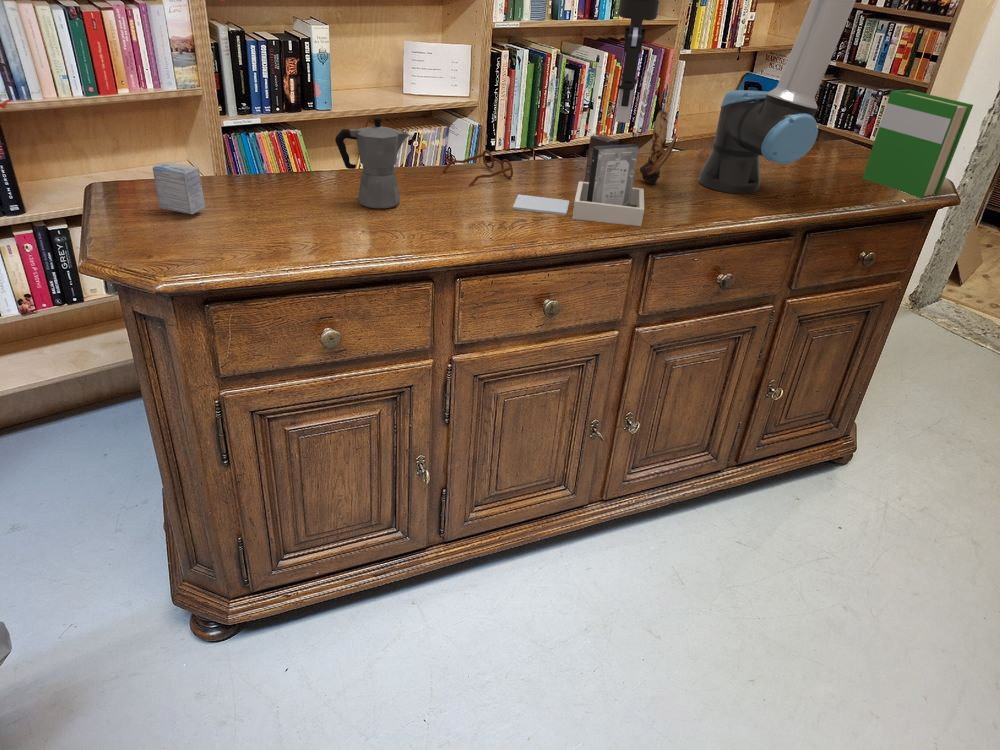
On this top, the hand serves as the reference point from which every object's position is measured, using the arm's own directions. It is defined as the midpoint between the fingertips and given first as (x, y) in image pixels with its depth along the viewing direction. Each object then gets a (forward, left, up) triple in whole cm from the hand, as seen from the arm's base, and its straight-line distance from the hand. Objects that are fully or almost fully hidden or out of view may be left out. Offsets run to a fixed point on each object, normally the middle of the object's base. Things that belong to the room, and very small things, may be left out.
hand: (622, 118), depth 157 cm
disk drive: (0, 0, -21) cm, 21 cm away
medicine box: (+86, +29, -21) cm, 93 cm away
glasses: (+33, -16, -21) cm, 42 cm away
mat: (+15, +1, -21) cm, 26 cm away
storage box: (0, 0, -21) cm, 21 cm away
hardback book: (-76, -45, -21) cm, 91 cm away
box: (+3, -18, -21) cm, 28 cm away
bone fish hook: (-10, -24, -21) cm, 33 cm away
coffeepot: (+51, +12, -21) cm, 56 cm away
